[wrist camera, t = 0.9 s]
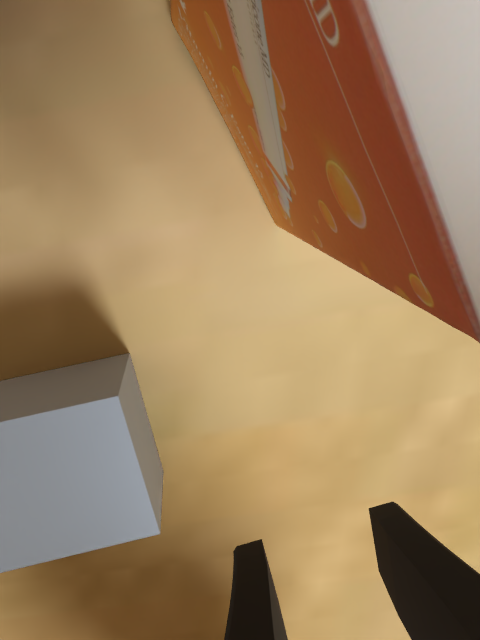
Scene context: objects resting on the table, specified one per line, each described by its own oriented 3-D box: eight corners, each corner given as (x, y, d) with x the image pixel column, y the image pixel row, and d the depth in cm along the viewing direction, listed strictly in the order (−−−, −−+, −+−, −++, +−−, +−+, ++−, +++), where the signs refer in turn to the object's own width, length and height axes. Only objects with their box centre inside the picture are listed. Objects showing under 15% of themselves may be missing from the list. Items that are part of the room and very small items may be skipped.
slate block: (163, 468, 21) (160, 533, 17) (10, 503, 20) (-28, 579, 16) (130, 350, 19) (118, 395, 15) (-40, 387, 18) (-97, 443, 14)
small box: (166, 20, 15) (111, -677, 3) (332, -80, 15) (1103, -1348, 2) (274, 232, 18) (491, 365, 5) (416, 151, 17) (984, 98, 5)
